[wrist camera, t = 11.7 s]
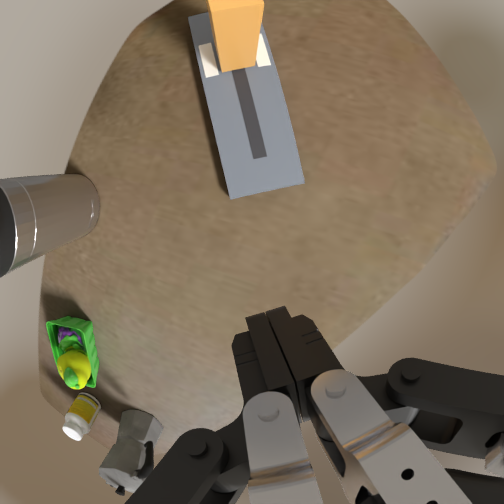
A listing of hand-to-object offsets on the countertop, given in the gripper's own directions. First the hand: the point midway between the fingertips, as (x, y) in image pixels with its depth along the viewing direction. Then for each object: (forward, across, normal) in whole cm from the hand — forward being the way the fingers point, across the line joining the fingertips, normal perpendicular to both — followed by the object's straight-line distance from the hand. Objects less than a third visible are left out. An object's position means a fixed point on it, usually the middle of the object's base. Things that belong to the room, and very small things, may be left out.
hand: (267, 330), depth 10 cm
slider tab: (+26, -6, -18) cm, 32 cm away
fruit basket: (+28, +28, +16) cm, 42 cm away
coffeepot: (+24, +26, +36) cm, 50 cm away
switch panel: (+28, -6, -12) cm, 31 cm away
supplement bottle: (+26, +36, +30) cm, 54 cm away
